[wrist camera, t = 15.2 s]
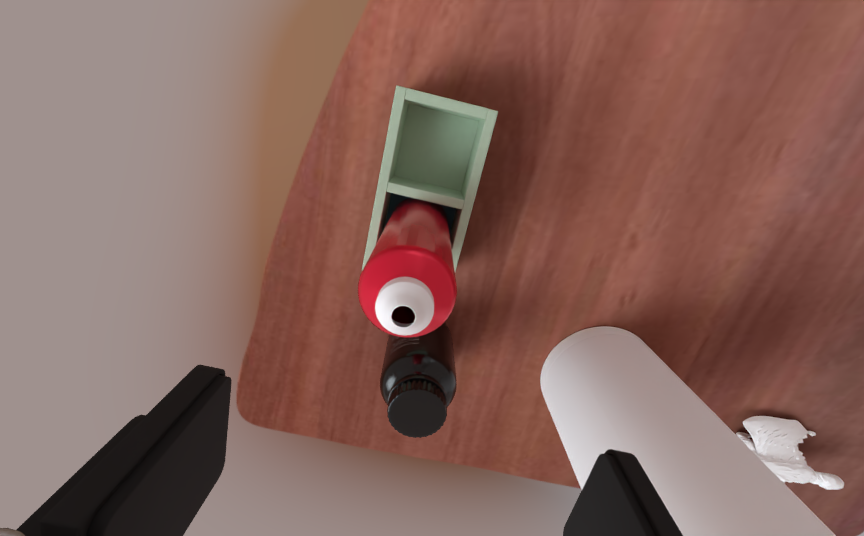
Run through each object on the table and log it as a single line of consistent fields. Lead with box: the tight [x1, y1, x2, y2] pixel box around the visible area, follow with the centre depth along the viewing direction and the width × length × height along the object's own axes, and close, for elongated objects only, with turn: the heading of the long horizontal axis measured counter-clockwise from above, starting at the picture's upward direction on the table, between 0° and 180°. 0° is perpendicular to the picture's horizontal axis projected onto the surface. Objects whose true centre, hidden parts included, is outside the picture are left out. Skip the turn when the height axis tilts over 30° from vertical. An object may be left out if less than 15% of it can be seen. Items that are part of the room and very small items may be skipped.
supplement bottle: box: [380, 323, 456, 438], centre depth 37 cm, size 7×7×12 cm
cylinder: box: [540, 326, 836, 536], centre depth 33 cm, size 12×12×25 cm
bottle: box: [358, 197, 457, 338], centre depth 29 cm, size 5×5×20 cm
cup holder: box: [362, 86, 498, 271], centre depth 35 cm, size 8×15×6 cm, turn 167°
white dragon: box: [736, 416, 844, 490], centre depth 45 cm, size 18×10×4 cm, turn 78°
